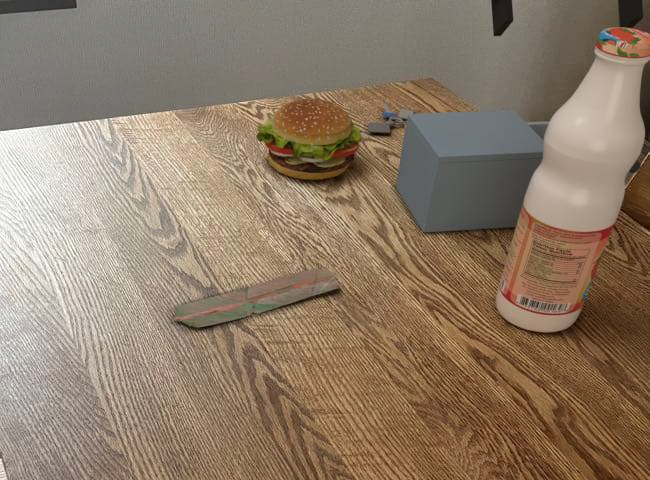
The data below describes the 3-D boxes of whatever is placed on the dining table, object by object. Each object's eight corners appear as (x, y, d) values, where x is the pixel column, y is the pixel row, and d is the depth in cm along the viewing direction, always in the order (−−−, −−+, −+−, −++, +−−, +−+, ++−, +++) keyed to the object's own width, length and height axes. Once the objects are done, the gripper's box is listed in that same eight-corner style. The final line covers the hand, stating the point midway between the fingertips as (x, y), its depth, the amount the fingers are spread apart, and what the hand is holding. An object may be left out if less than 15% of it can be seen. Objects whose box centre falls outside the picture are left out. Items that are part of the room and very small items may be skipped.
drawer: (595, 172, 116) (616, 114, 110) (634, 211, 108) (658, 151, 102) (466, 179, 113) (480, 119, 107) (496, 219, 106) (513, 158, 100)
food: (312, 133, 123) (317, 76, 118) (374, 169, 116) (383, 110, 110) (238, 155, 118) (239, 95, 112) (298, 194, 111) (303, 132, 105)
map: (165, 314, 92) (165, 306, 91) (323, 265, 98) (323, 258, 97) (184, 338, 89) (184, 331, 88) (345, 286, 95) (346, 279, 94)
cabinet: (495, 181, 115) (514, 109, 108) (530, 226, 107) (553, 151, 99) (395, 186, 113) (407, 113, 106) (423, 232, 105) (439, 156, 97)
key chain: (376, 138, 123) (377, 132, 122) (343, 118, 127) (343, 113, 126) (445, 119, 128) (446, 114, 127) (411, 101, 132) (411, 96, 132)
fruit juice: (478, 294, 95) (553, 21, 74) (548, 283, 97) (641, 14, 76) (520, 340, 89) (614, 58, 69) (594, 327, 92) (707, 49, 71)
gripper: (647, -168, 85) (659, 44, 87) (417, -171, 82) (434, 50, 83) (697, -231, 78) (709, 2, 79) (446, -237, 74) (463, 7, 76)
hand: (568, 27), depth 81 cm, fingers open, 13 cm apart
